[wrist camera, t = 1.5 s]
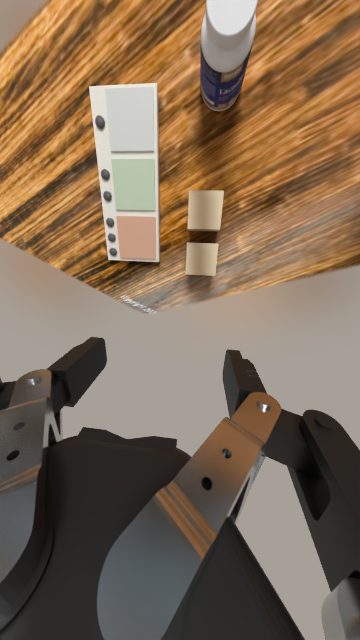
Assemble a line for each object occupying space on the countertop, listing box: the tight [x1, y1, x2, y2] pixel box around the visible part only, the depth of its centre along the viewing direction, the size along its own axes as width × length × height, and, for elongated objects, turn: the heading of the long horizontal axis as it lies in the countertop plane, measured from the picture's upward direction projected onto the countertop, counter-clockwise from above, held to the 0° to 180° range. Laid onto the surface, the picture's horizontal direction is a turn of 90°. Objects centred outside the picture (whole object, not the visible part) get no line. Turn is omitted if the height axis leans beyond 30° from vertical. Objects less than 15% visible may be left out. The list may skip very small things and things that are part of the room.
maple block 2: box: [186, 243, 219, 276], centre depth 32 cm, size 5×5×5 cm
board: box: [89, 83, 160, 262], centre depth 31 cm, size 10×24×1 cm, turn 178°
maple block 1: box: [188, 191, 224, 232], centre depth 30 cm, size 5×5×5 cm
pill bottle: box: [200, 0, 258, 111], centre depth 21 cm, size 6×6×10 cm
